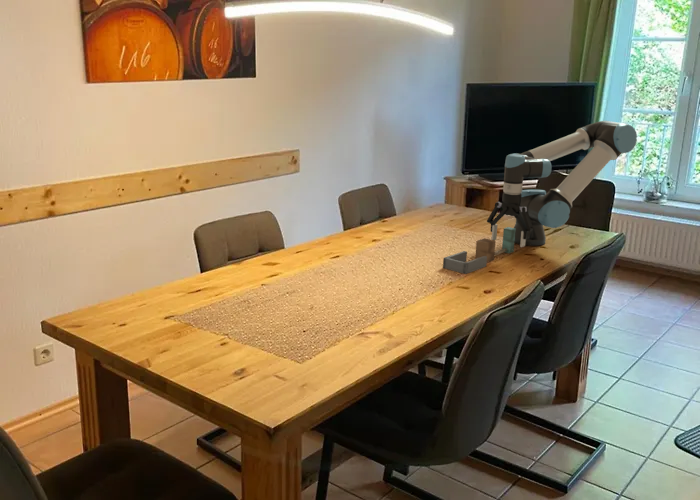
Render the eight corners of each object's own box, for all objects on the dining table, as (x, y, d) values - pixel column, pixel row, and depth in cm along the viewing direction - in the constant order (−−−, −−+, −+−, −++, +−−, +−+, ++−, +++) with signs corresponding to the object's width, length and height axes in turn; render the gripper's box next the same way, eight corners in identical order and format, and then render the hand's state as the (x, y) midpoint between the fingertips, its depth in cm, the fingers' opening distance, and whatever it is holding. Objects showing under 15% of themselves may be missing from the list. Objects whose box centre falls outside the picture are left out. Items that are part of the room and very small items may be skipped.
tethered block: (504, 249, 290) (506, 226, 288) (515, 252, 287) (517, 228, 284) (475, 260, 275) (476, 236, 272) (485, 262, 271) (487, 238, 269)
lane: (463, 260, 274) (464, 250, 273) (486, 266, 267) (487, 256, 266) (442, 267, 264) (443, 257, 263) (465, 274, 257) (466, 263, 256)
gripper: (481, 189, 286) (477, 238, 292) (535, 198, 270) (530, 251, 275) (490, 187, 291) (487, 235, 297) (544, 196, 275) (539, 247, 281)
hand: (507, 243), depth 286 cm, fingers open, 13 cm apart
